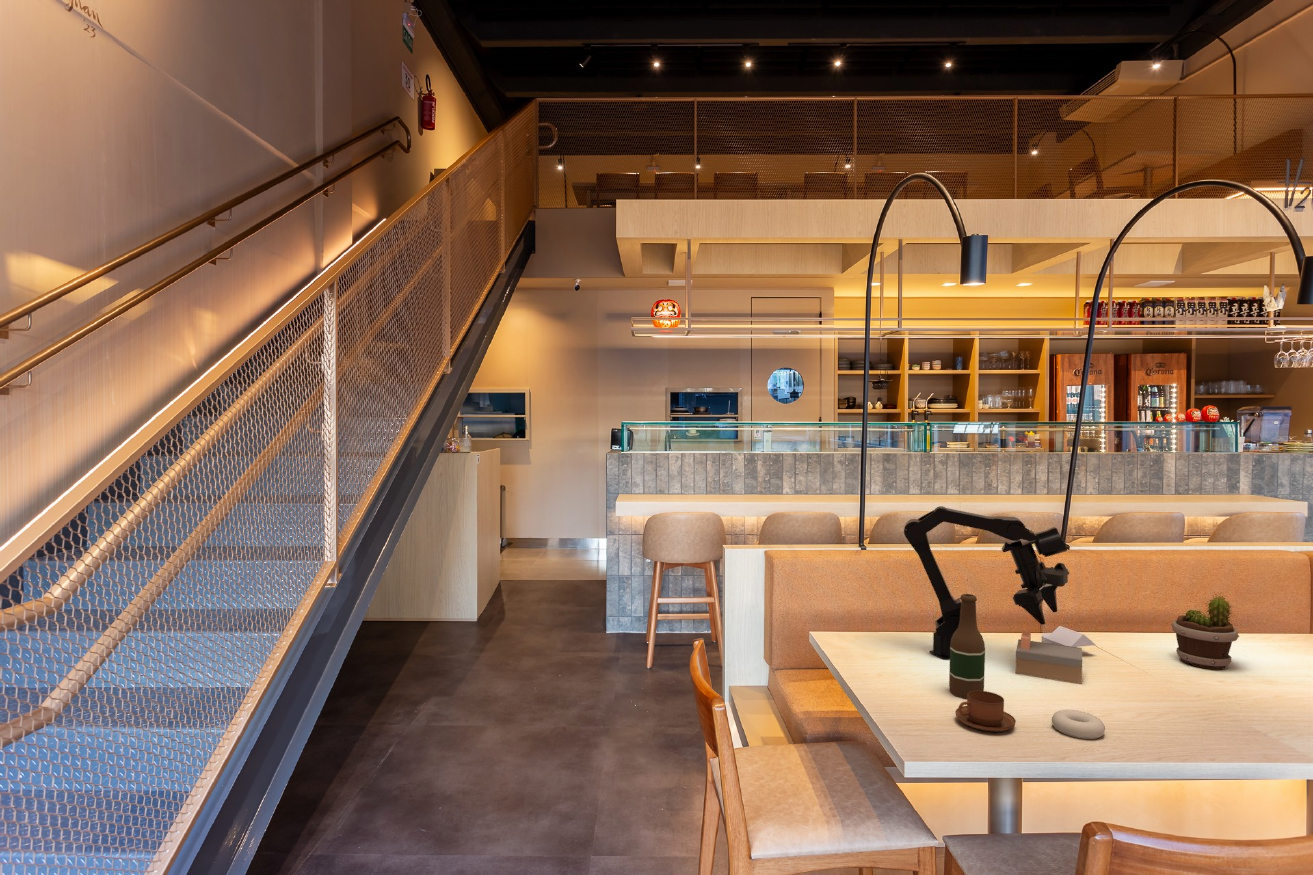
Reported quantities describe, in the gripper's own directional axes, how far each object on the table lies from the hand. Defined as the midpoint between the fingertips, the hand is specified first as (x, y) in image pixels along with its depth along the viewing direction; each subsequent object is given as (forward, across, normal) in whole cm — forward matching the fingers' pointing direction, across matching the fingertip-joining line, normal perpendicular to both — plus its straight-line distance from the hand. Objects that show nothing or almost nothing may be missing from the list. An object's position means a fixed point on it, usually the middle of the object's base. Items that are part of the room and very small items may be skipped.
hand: (1049, 617), depth 201 cm
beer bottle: (+4, -38, +8) cm, 39 cm away
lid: (+8, -7, +1) cm, 10 cm away
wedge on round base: (+15, +15, +7) cm, 23 cm away
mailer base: (+12, -8, +2) cm, 14 cm away
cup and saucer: (+5, -52, -2) cm, 52 cm away
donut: (+12, -41, -16) cm, 46 cm away
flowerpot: (+27, +31, -20) cm, 46 cm away
